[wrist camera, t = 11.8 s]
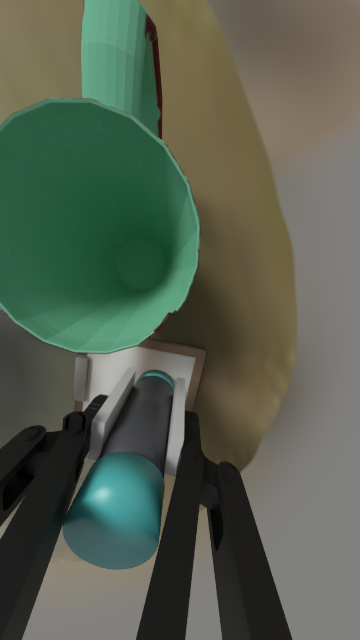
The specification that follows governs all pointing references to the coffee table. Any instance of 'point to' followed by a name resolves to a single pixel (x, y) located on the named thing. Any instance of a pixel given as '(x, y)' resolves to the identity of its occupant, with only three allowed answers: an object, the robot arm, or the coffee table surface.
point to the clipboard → (137, 369)
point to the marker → (126, 482)
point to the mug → (97, 199)
